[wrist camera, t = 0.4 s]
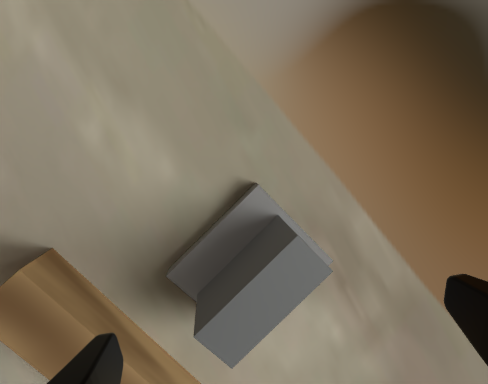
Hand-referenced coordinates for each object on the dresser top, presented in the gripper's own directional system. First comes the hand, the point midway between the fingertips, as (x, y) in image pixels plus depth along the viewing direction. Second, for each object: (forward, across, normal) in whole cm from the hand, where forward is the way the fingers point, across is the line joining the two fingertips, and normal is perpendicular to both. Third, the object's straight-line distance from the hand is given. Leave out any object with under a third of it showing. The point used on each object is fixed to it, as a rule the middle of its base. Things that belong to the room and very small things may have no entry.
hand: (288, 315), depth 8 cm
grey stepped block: (+13, 0, +7) cm, 15 cm away
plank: (+12, +9, +14) cm, 20 cm away
